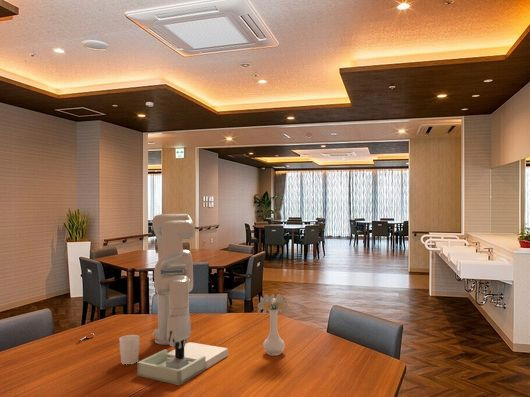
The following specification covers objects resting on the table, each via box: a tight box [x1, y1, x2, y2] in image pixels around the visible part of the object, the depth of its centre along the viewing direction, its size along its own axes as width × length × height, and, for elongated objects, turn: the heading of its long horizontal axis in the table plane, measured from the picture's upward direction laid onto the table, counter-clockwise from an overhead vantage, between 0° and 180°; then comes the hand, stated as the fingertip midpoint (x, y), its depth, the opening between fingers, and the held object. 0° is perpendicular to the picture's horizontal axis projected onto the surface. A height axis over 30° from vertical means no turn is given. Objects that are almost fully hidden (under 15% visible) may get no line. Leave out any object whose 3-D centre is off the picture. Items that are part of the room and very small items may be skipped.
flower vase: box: [257, 293, 288, 357], centre depth 183 cm, size 13×18×25 cm
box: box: [136, 349, 207, 386], centre depth 163 cm, size 20×16×5 cm
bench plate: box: [167, 341, 229, 370], centre depth 177 cm, size 20×16×3 cm
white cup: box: [118, 334, 140, 366], centre depth 174 cm, size 8×8×10 cm
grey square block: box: [166, 357, 188, 369], centre depth 164 cm, size 6×6×3 cm
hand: (179, 357), depth 167 cm, fingers closed
